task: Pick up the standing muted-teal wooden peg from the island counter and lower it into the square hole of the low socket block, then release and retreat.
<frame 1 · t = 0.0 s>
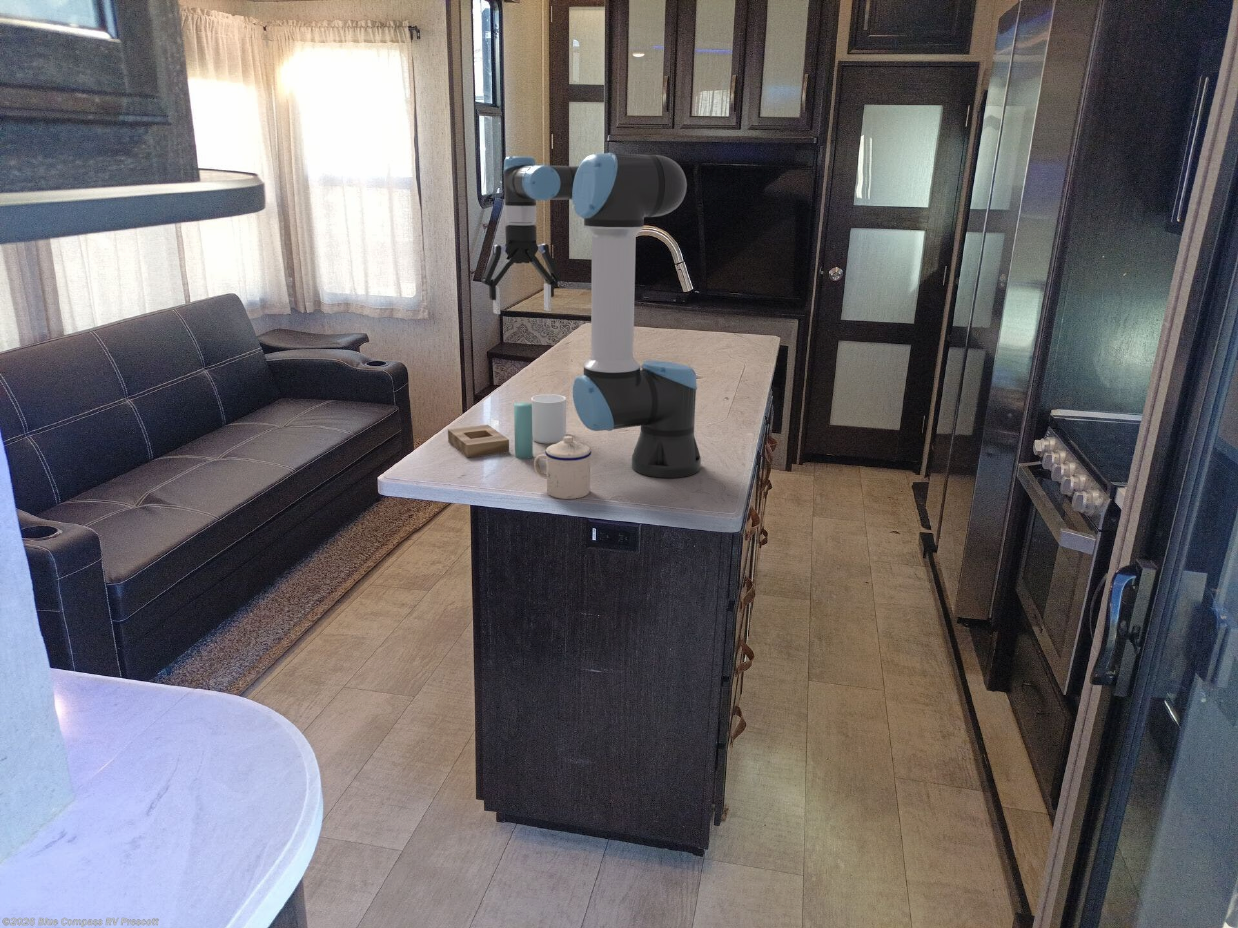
hand: (522, 312, 218), 28 cm above the countertop, fingers open, 13 cm apart
cup: (552, 437, 213), on the countertop
peg: (523, 455, 198), on the countertop
socket: (478, 446, 205), on the countertop
teacup with lid: (561, 492, 177), on the countertop
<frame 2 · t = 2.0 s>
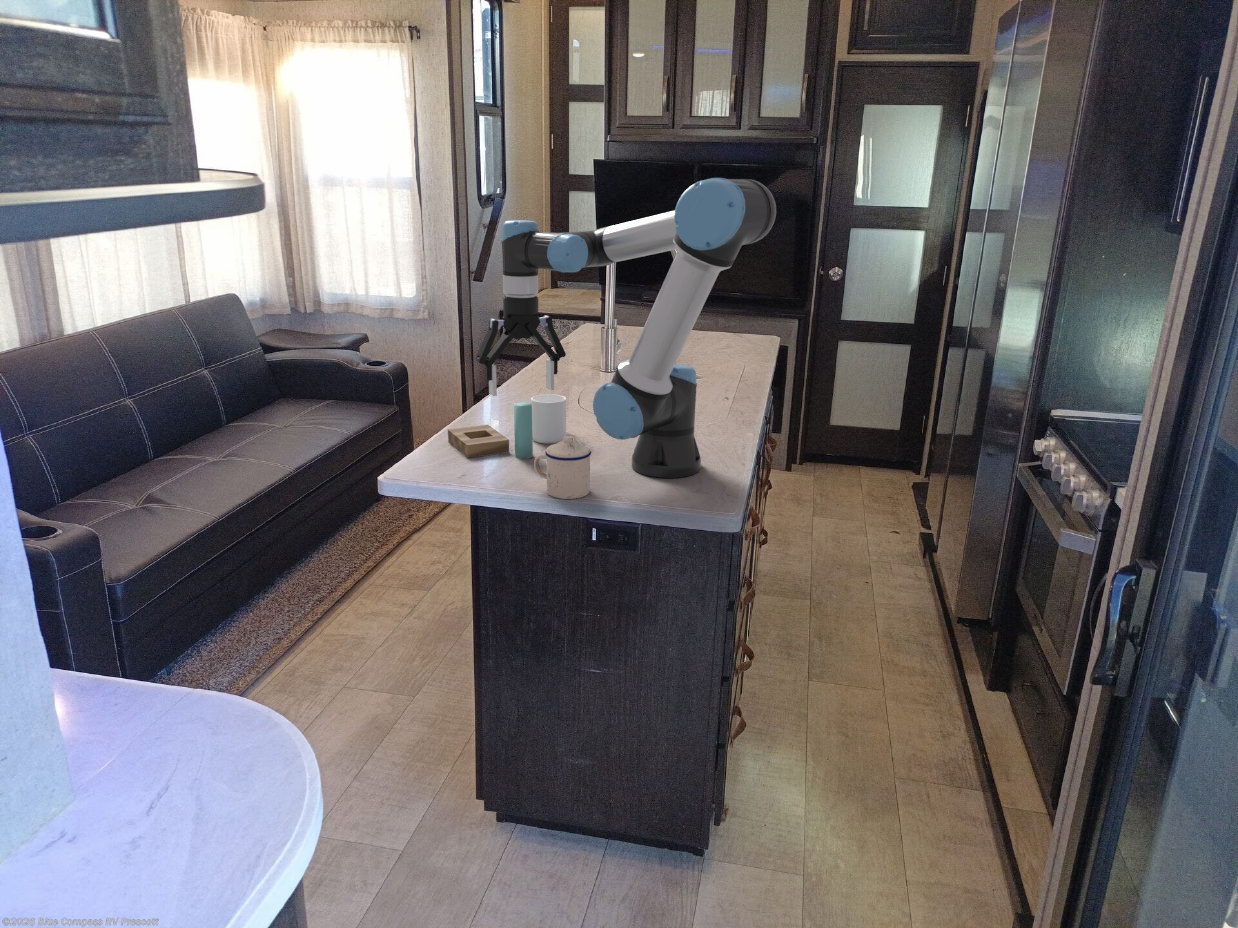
hand: (521, 391, 194), 15 cm above the countertop, fingers open, 13 cm apart
nothing on the countertop moved.
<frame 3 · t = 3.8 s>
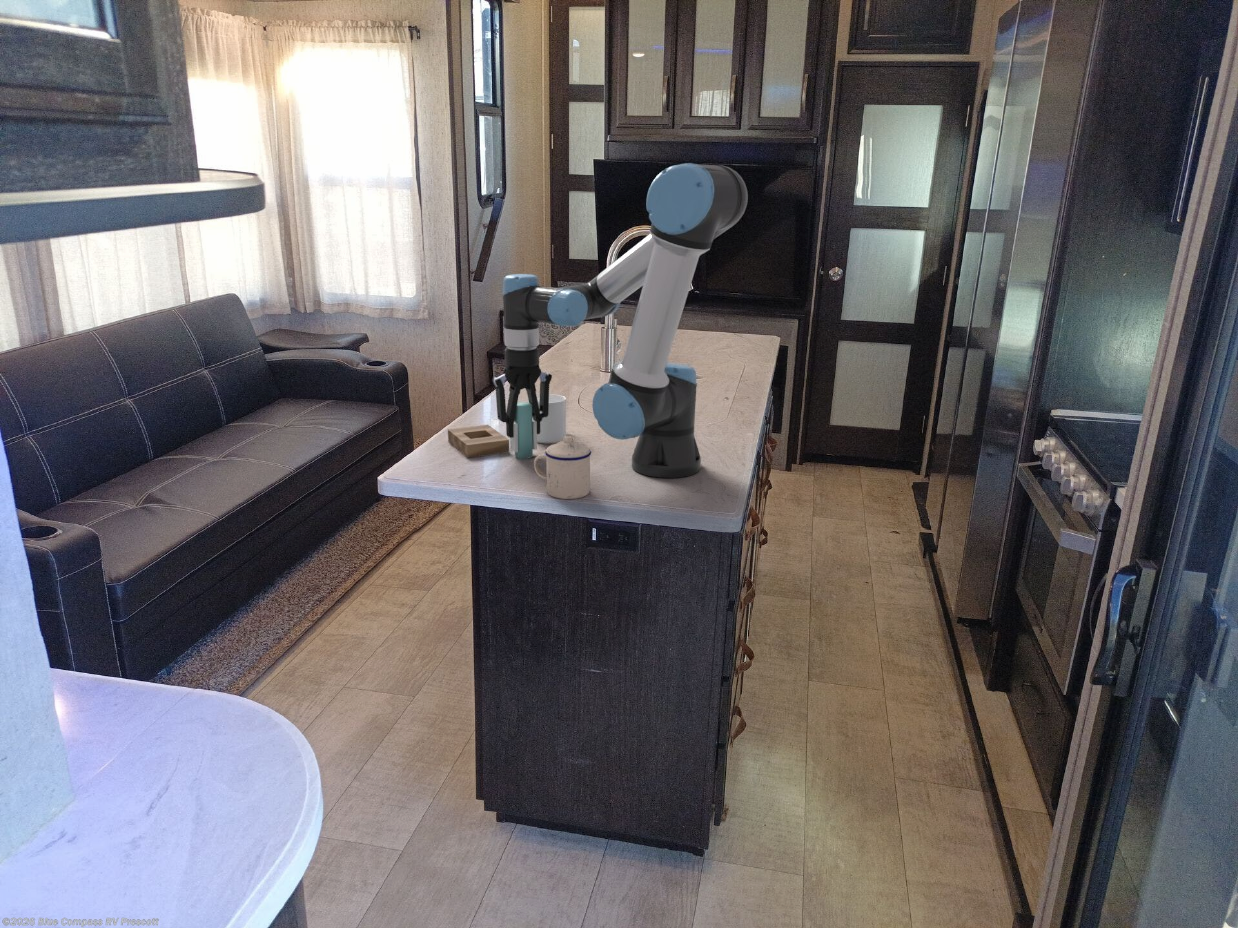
hand: (523, 449, 198), 2 cm above the countertop, fingers closed on peg, 4 cm apart
peg: (523, 455, 198), on the countertop, touching gripper
everything else where it was.
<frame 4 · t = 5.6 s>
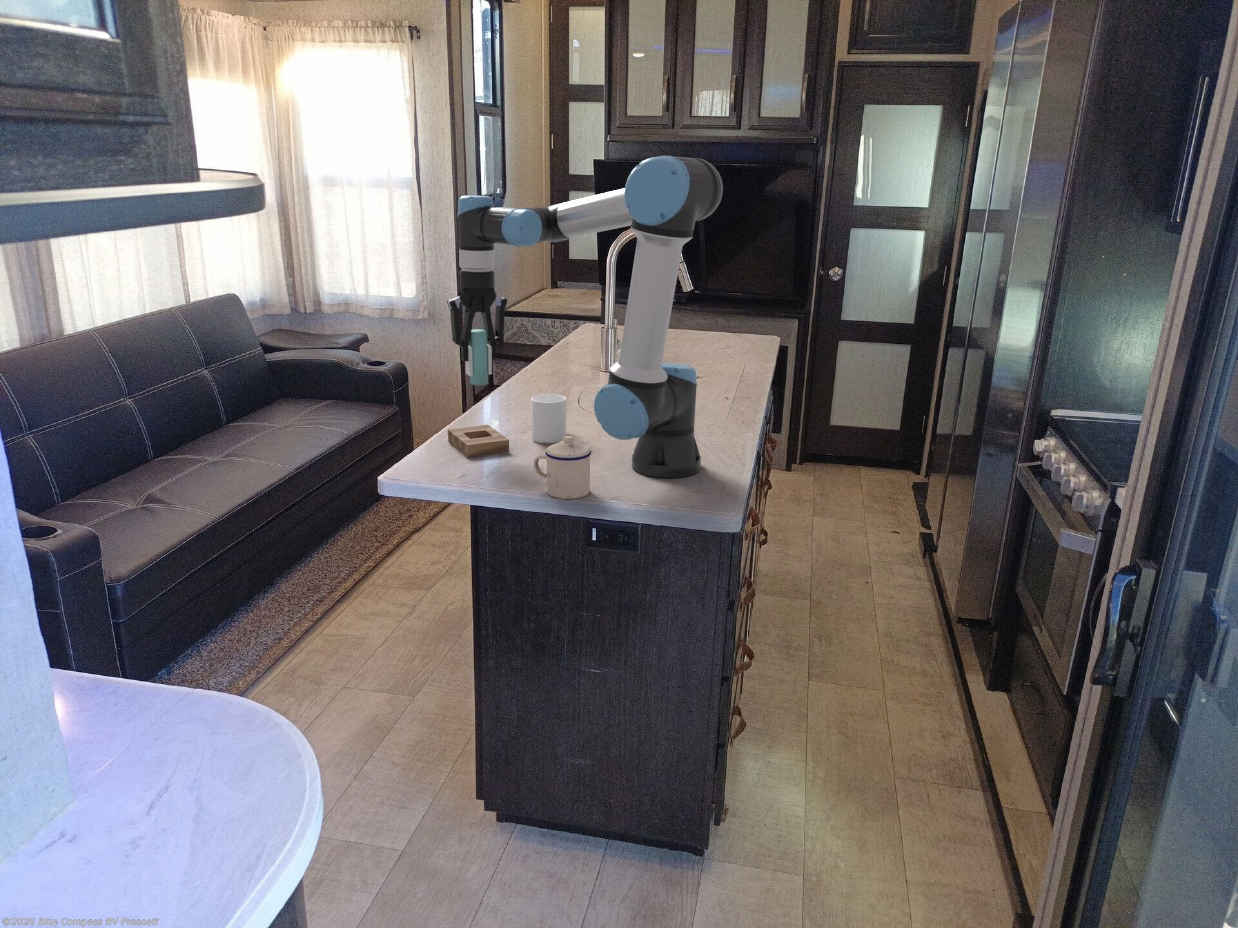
hand: (478, 373, 199), 17 cm above the countertop, fingers closed on peg, 4 cm apart
peg: (479, 383, 199), point 15 cm above the countertop, touching gripper
everything else where it was.
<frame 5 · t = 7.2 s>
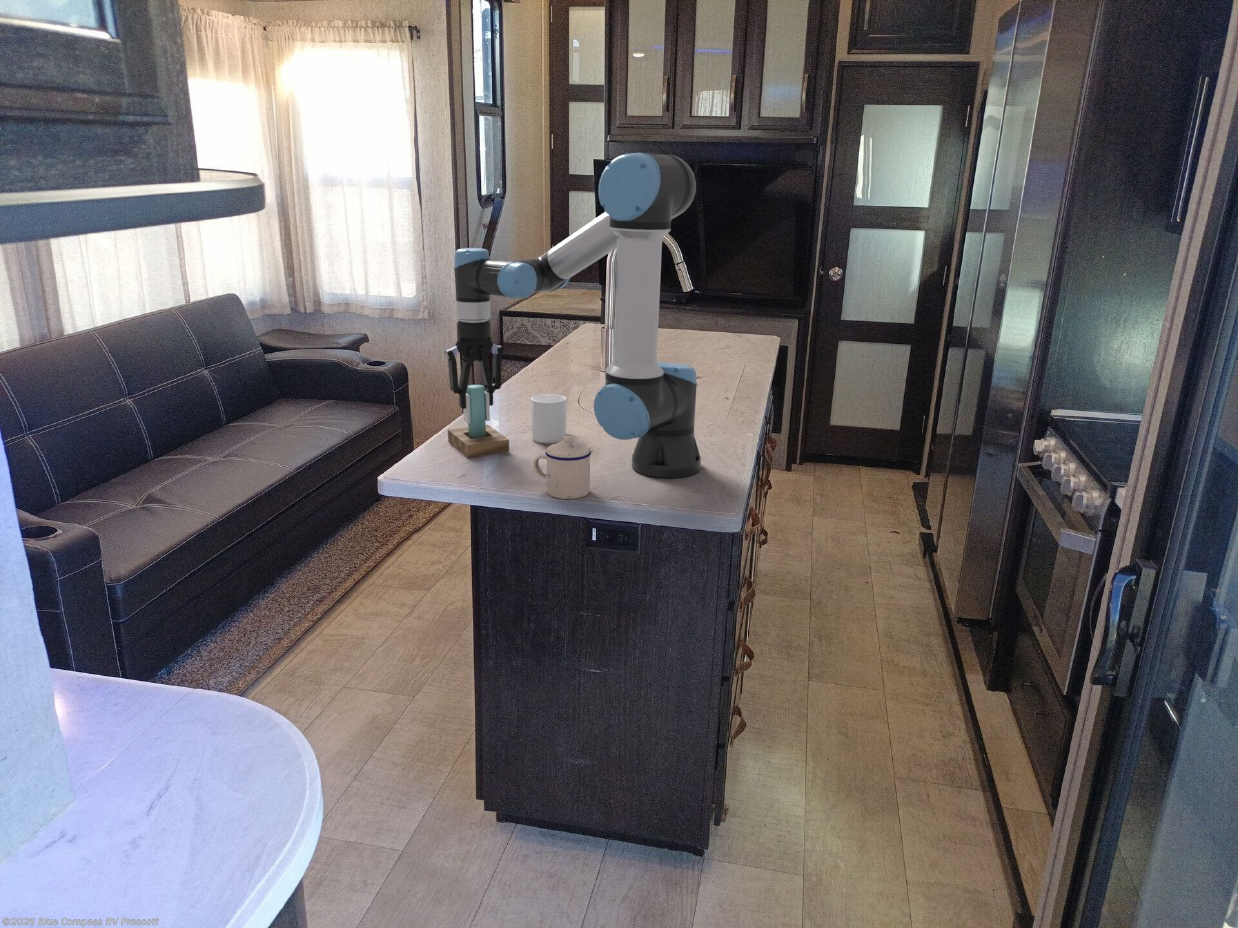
hand: (476, 420, 203), 6 cm above the countertop, fingers closed on peg, 4 cm apart
peg: (477, 437, 204), point 2 cm above the countertop, touching gripper
everything else where it was.
when the fingers open (4 cm above the countertop, at t = 7.8 s): peg stays where it is, resting in socket.
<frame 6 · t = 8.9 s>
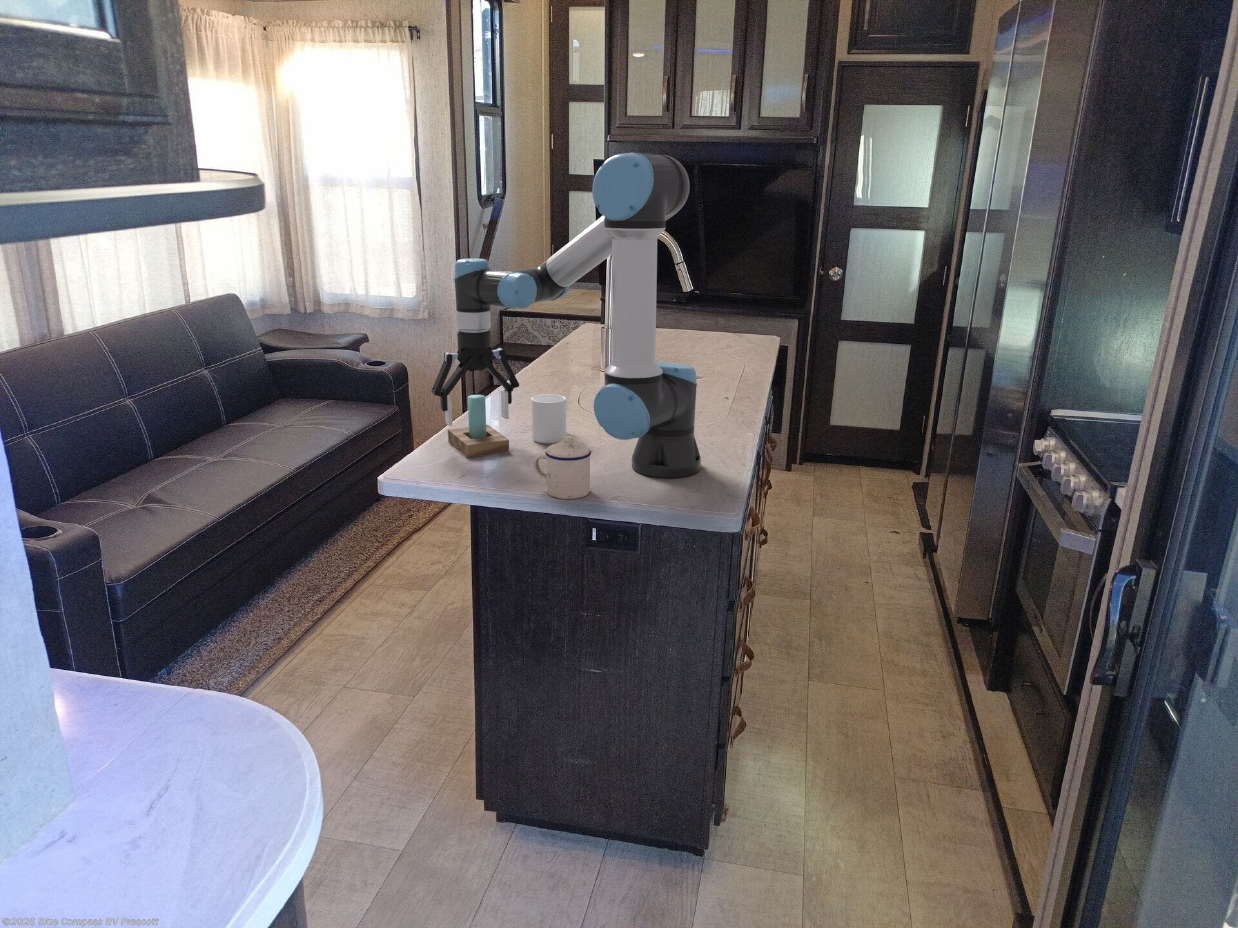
hand: (477, 421, 203), 6 cm above the countertop, fingers open, 13 cm apart
peg: (478, 446, 205), resting in socket
everything else where it was.
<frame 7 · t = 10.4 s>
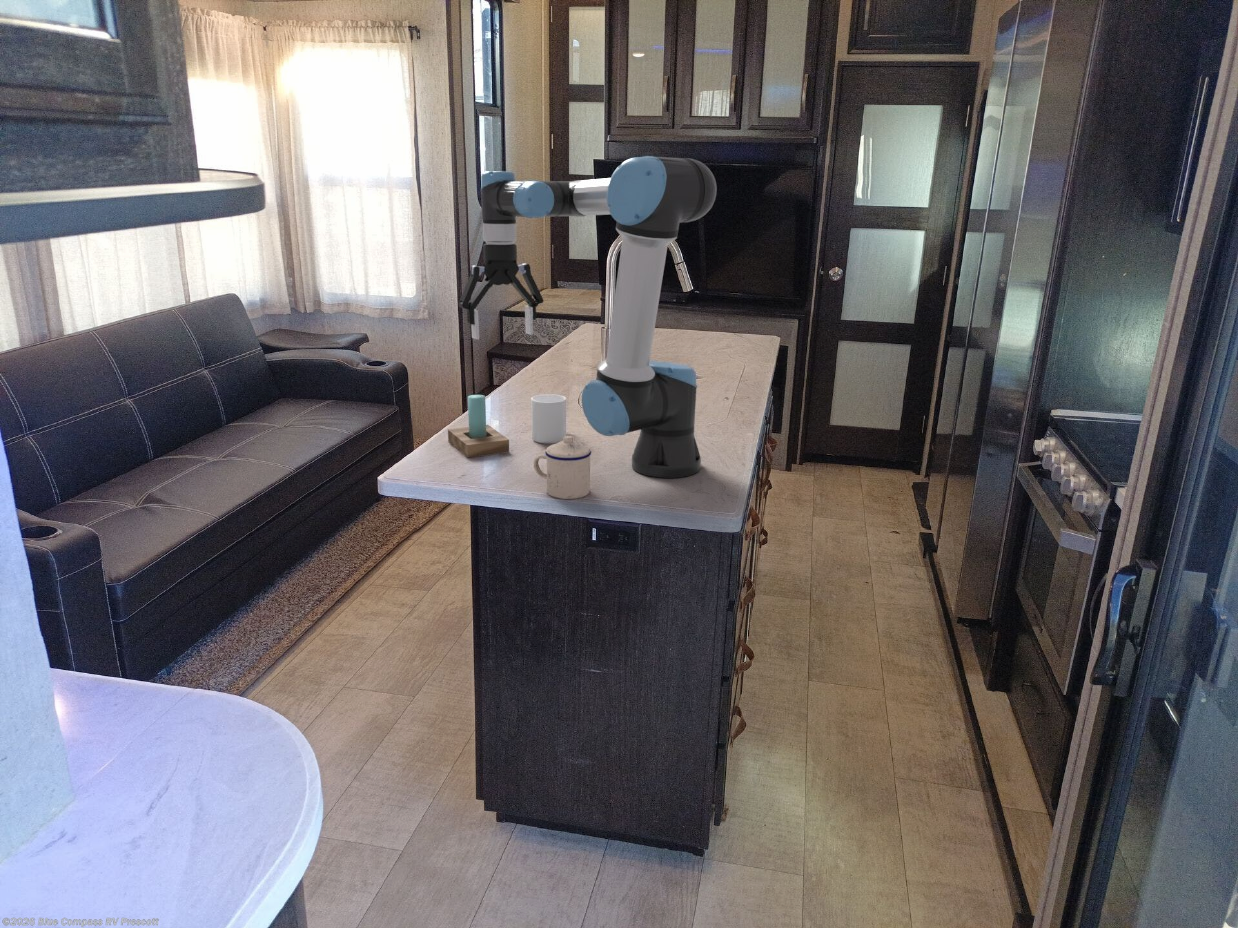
hand: (502, 336, 205), 25 cm above the countertop, fingers open, 13 cm apart
nothing on the countertop moved.
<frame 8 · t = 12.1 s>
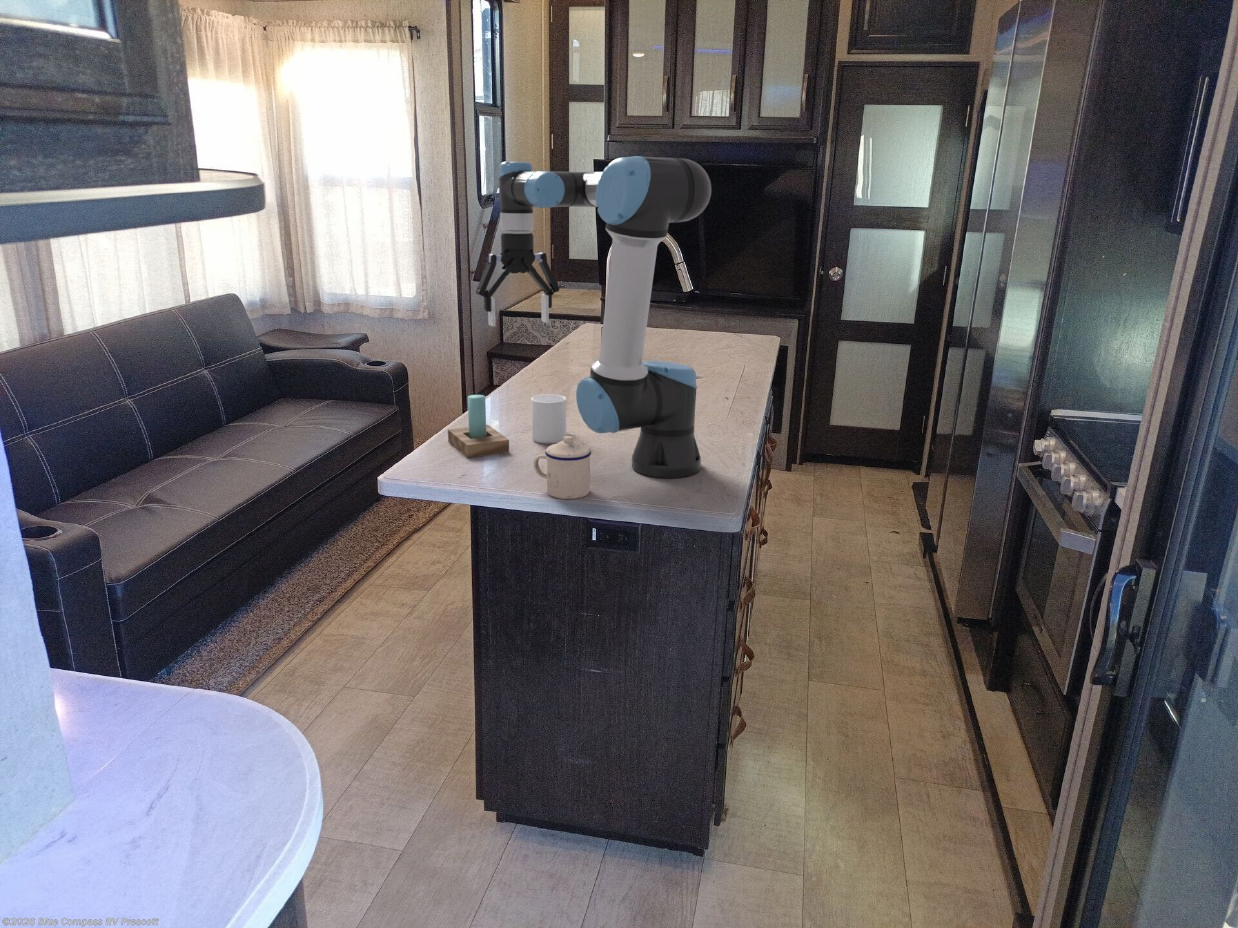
hand: (518, 323, 209), 27 cm above the countertop, fingers open, 13 cm apart
nothing on the countertop moved.
at the end: peg 0.0 cm off-centre on the socket, point 0.0 cm above the socket's base; peg tilted 0°; the gripper is holding nothing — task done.
